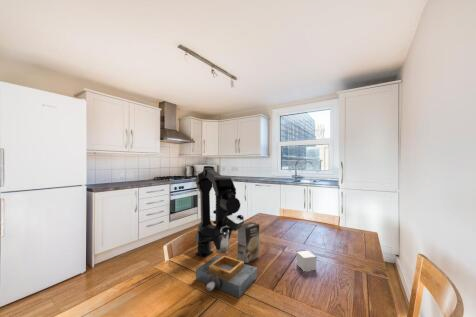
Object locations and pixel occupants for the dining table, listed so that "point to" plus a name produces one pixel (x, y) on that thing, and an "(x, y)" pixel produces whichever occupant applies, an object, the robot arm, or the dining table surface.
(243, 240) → the coffee box
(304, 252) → the adhesive note
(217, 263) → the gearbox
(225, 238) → the silver calibration weight
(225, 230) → the robot arm
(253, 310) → the dining table surface
